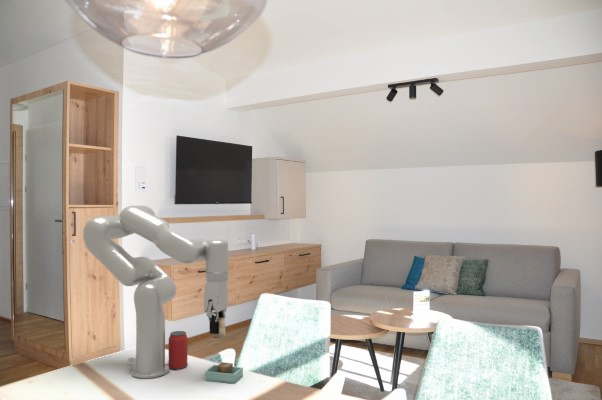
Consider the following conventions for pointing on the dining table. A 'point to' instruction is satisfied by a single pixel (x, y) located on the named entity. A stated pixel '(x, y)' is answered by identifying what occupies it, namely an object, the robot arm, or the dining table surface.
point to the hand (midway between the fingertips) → (217, 331)
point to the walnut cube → (225, 368)
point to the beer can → (178, 350)
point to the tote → (223, 375)
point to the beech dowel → (221, 328)
